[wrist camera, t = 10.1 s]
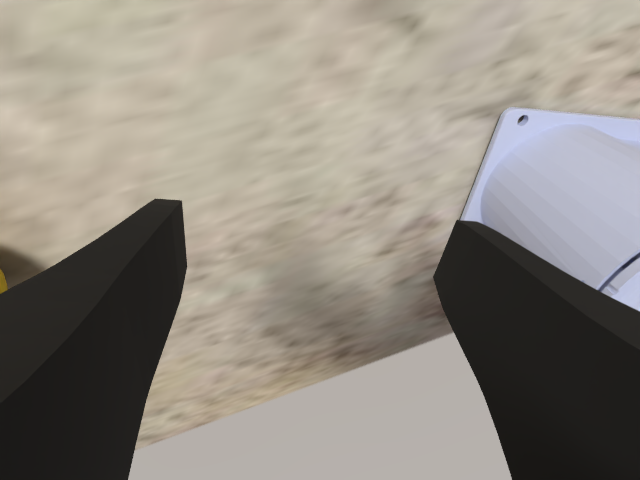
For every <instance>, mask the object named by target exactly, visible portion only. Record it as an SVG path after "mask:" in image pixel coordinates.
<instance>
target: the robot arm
mask: <svg viewBox="0 0 640 480" xmlns="http://www.w3.org/2000/svg"><path fill="white" fill-rule="evenodd" d="M522 115H524V118H523V120H522V121H521V122H520V123H517V122H518V119H519V118H520V117H521V116H522ZM186 269H187V259H186V246H185V234H184V221H183V209H182V201H180V200H166V199H154V200H153V201H151V202H149V203H148V204H146V205H145V206H144V207H142V208H141V209H139V210H138V211H136V212H135V213H134V214H132V215H131V216H129V217H128V218H127V219H125V220H124V221H122V222H121V223H119V224H118V225H117V226H115V227H114V228H112V229H111V230H109V231H108V232H106V233H105V234H103V235H102V236H101V237H99V238H98V239H96V240H95V241H93V242H91V243H90V244H88V245H86V246H85V247H83V248H82V249H80V250H78V251H77V252H75V253H73V254H72V255H70V256H69V257H67V258H65V259H64V260H62V261H61V262H59V263H57V264H56V265H54V266H52V267H50V268H49V269H47V270H45V271H43V272H41V273H39V274H38V275H36V276H34V277H32V278H30V279H28V280H26V281H24V282H22V283H20V284H18V285H16V286H14V287H12V288H11V289H9V290H7V291H5V292H3V293H1V294H0V480H128V476H129V472H130V468H131V463H132V459H133V454H134V450H135V445H136V441H137V437H138V433H139V428H140V424H141V420H142V416H143V412H144V408H145V403H146V399H147V396H148V393H149V389H150V386H151V383H152V380H153V377H154V374H155V371H156V368H157V365H158V363H159V360H160V357H161V354H162V351H163V348H164V346H165V343H166V340H167V337H168V334H169V331H170V329H171V326H172V323H173V320H174V317H175V314H176V311H177V308H178V305H179V302H180V299H181V294H182V289H183V285H184V280H185V274H186ZM433 278H434V281H435V285H436V288H437V292H438V295H439V298H440V301H441V304H442V307H443V310H444V312H445V314H446V316H447V318H448V321H449V323H450V325H451V327H452V329H453V331H454V333H455V335H456V337H457V339H458V341H459V344H460V346H461V348H462V350H463V352H464V354H465V356H466V358H467V360H468V362H469V364H470V366H471V368H472V370H473V372H474V374H475V376H476V378H477V381H478V383H479V385H480V388H481V390H482V392H483V395H484V397H485V400H486V403H487V405H488V408H489V411H490V414H491V417H492V419H493V422H494V425H495V428H496V430H497V433H498V436H499V440H500V443H501V446H502V449H503V452H504V455H505V458H506V461H507V464H508V467H509V470H510V473H511V477H512V480H640V119H634V118H624V117H613V116H603V115H593V114H582V113H572V112H562V111H551V110H541V109H531V108H520V107H510V108H508V109H506V110H505V111H504V112H503V113H502V115H501V116H500V119H499V121H498V124H497V126H496V129H495V132H494V134H493V137H492V139H491V142H490V144H489V147H488V149H487V152H486V155H485V157H484V160H483V162H482V165H481V167H480V170H479V173H478V175H477V178H476V180H475V183H474V185H473V188H472V190H471V193H470V196H469V198H468V201H467V203H466V206H465V208H464V211H463V214H462V216H461V219H460V220H457V221H456V223H455V225H454V228H453V230H452V233H451V235H450V238H449V240H448V242H447V245H446V247H445V250H444V252H443V255H442V257H441V259H440V262H439V264H438V267H437V269H436V272H435V274H434V276H433Z"/></svg>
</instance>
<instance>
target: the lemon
mask: <svg viewBox="0 0 640 480" xmlns="http://www.w3.org/2000/svg"><path fill="white" fill-rule="evenodd" d="M7 290H8V287H7V283H6V280H5V277H4V274H3V272H2V271H1V269H0V294H1V293H3V292H5V291H7Z"/></svg>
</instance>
